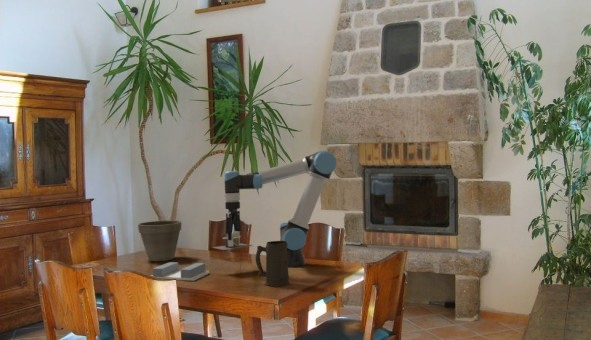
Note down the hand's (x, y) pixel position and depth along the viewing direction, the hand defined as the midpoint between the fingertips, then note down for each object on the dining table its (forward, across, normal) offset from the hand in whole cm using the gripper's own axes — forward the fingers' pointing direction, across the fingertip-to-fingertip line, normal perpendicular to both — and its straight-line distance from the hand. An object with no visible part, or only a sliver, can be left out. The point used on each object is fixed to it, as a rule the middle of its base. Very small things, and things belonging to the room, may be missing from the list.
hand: (234, 244), depth 322 cm
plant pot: (+14, -29, -57) cm, 66 cm away
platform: (+1, +1, 0) cm, 1 cm away
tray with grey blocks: (+14, +16, -23) cm, 31 cm away
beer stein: (+14, +26, +29) cm, 41 cm away
